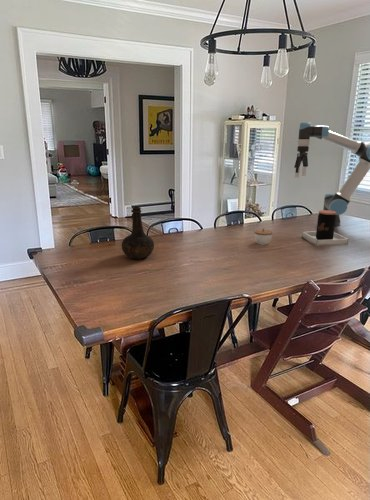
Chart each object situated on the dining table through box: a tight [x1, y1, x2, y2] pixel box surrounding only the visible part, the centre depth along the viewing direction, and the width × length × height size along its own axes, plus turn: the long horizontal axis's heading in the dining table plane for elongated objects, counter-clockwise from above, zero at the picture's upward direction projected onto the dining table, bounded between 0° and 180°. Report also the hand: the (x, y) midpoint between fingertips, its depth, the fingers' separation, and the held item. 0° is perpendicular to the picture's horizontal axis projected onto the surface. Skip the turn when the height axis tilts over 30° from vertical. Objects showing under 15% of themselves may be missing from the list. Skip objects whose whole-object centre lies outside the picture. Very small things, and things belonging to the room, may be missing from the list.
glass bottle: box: [121, 206, 155, 260], centre depth 203 cm, size 18×18×28 cm
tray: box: [301, 230, 350, 247], centre depth 241 cm, size 21×21×4 cm
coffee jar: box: [316, 209, 336, 240], centre depth 238 cm, size 11×11×18 cm
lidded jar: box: [254, 228, 273, 246], centre depth 233 cm, size 11×11×9 cm
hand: (300, 176), depth 267 cm, fingers open, 13 cm apart
